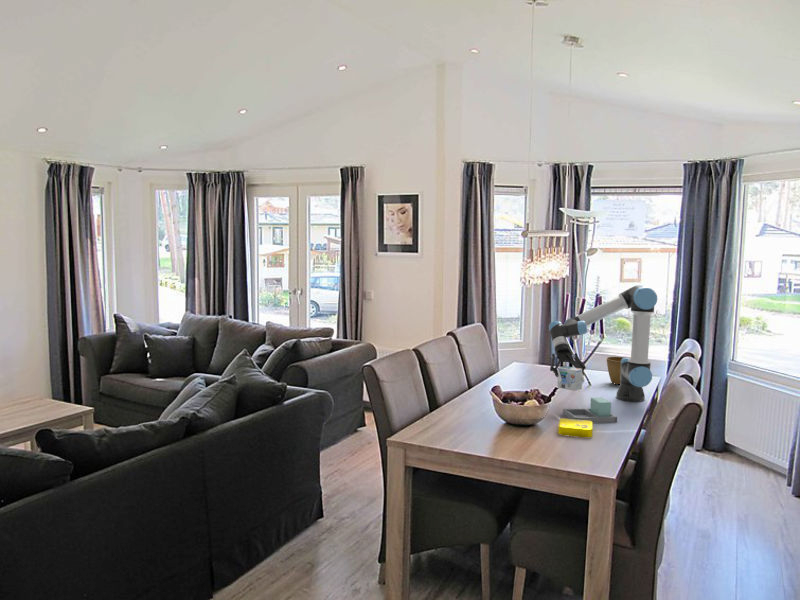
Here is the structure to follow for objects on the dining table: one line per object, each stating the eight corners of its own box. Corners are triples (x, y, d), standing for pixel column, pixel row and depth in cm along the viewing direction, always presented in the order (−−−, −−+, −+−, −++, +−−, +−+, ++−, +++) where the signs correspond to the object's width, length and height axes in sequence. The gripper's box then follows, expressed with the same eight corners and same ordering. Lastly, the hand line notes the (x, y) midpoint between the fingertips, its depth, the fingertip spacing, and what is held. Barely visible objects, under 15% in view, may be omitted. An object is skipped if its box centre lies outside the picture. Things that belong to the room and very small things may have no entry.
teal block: (601, 414, 308) (602, 397, 307) (610, 420, 298) (611, 402, 297) (590, 414, 307) (590, 397, 306) (598, 420, 297) (599, 402, 297)
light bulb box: (557, 387, 318) (557, 367, 317) (563, 385, 323) (564, 365, 322) (575, 391, 310) (576, 370, 309) (582, 389, 315) (582, 368, 314)
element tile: (592, 429, 287) (592, 419, 286) (592, 439, 272) (592, 428, 272) (559, 426, 291) (560, 416, 291) (557, 435, 277) (558, 425, 277)
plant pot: (601, 383, 382) (602, 358, 381) (613, 380, 392) (614, 355, 391) (623, 387, 371) (624, 362, 370) (635, 384, 381) (636, 359, 380)
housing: (602, 414, 311) (602, 408, 311) (616, 423, 295) (617, 417, 295) (563, 415, 309) (563, 409, 309) (575, 424, 293) (575, 417, 293)
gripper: (580, 350, 331) (591, 384, 317) (538, 351, 329) (547, 385, 315) (584, 342, 326) (596, 376, 312) (541, 343, 323) (551, 377, 309)
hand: (571, 381), depth 313 cm, fingers closed on light bulb box, 11 cm apart
